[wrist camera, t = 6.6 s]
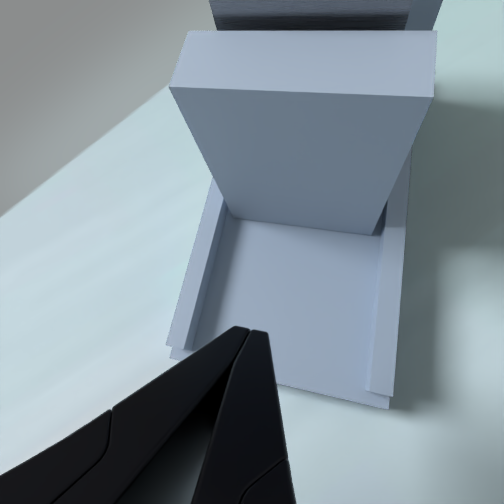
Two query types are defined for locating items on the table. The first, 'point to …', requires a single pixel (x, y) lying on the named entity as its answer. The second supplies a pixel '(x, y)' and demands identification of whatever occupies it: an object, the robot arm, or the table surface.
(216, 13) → the block
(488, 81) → the table surface
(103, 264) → the table surface
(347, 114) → the free jaw
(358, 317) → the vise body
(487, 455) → the table surface
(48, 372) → the table surface
